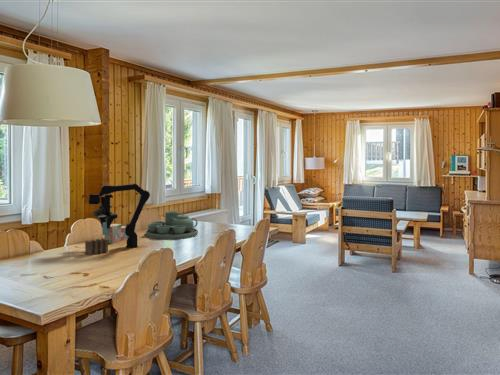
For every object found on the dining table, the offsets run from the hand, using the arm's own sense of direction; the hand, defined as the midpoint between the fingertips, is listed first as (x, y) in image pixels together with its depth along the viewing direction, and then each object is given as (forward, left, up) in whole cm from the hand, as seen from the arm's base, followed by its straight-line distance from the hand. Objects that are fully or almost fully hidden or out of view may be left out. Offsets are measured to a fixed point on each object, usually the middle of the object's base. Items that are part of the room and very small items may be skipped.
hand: (105, 228), depth 282 cm
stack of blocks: (-7, -23, -14) cm, 28 cm away
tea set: (-48, -42, -14) cm, 65 cm away
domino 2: (+6, +15, -13) cm, 21 cm away
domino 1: (+9, +17, -13) cm, 24 cm away
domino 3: (+3, +13, -13) cm, 19 cm away
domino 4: (0, +11, -13) cm, 17 cm away
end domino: (0, 0, -5) cm, 5 cm away
